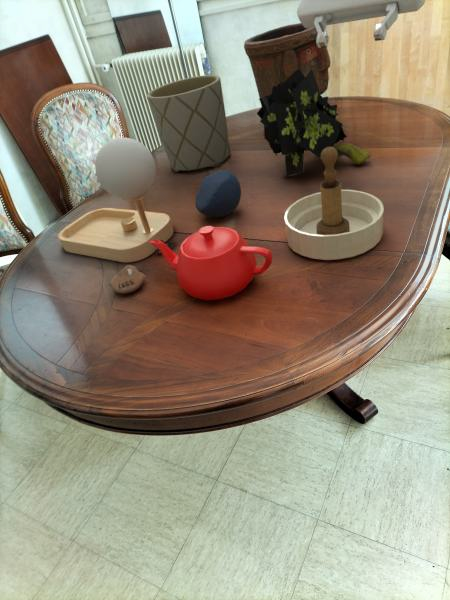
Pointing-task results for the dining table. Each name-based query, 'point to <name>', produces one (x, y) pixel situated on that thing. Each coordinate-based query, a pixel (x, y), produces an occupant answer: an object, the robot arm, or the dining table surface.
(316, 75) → the clay pot
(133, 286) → the oil lamp
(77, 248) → the lamp
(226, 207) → the decorative stone
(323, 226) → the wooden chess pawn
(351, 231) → the bowl
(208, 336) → the dining table surface
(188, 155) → the planter
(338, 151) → the potted plant
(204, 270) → the teapot
